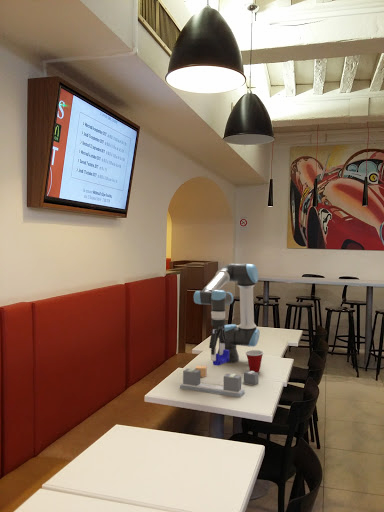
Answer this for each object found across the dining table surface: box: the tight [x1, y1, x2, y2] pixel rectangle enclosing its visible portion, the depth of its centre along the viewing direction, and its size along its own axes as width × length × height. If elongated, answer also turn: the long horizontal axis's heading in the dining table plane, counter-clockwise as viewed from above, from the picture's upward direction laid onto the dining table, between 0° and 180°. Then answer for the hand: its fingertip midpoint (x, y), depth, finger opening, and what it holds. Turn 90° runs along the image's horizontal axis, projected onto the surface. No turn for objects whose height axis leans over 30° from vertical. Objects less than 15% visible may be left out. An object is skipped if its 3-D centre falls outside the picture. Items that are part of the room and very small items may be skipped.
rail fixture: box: [179, 367, 245, 398], centre depth 240 cm, size 6×34×10 cm, turn 66°
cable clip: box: [212, 350, 229, 367], centre depth 249 cm, size 12×4×6 cm, turn 145°
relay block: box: [243, 370, 260, 386], centre depth 253 cm, size 4×7×6 cm, turn 56°
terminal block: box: [194, 365, 208, 378], centre depth 267 cm, size 5×6×5 cm
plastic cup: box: [245, 349, 264, 373], centre depth 276 cm, size 11×11×12 cm
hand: (217, 357), depth 250 cm, fingers closed on cable clip, 12 cm apart
